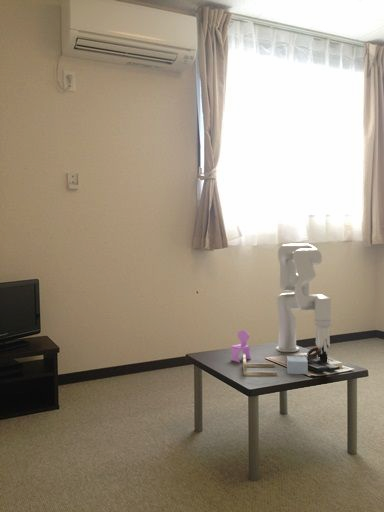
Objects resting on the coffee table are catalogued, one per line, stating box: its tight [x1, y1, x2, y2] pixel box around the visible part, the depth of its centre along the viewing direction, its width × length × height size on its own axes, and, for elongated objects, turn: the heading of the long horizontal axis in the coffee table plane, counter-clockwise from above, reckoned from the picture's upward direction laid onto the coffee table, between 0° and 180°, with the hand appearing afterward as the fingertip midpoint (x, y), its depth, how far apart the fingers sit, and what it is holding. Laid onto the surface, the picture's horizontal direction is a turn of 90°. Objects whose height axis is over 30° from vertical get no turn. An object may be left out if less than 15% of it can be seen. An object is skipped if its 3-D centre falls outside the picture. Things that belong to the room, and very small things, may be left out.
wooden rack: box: [242, 353, 278, 377], centre depth 225 cm, size 16×15×6 cm
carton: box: [286, 355, 309, 375], centre depth 224 cm, size 9×9×6 cm
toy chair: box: [230, 329, 252, 363], centre depth 245 cm, size 8×9×15 cm
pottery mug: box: [306, 346, 329, 361], centre depth 240 cm, size 12×10×8 cm
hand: (323, 361), depth 222 cm, fingers closed
